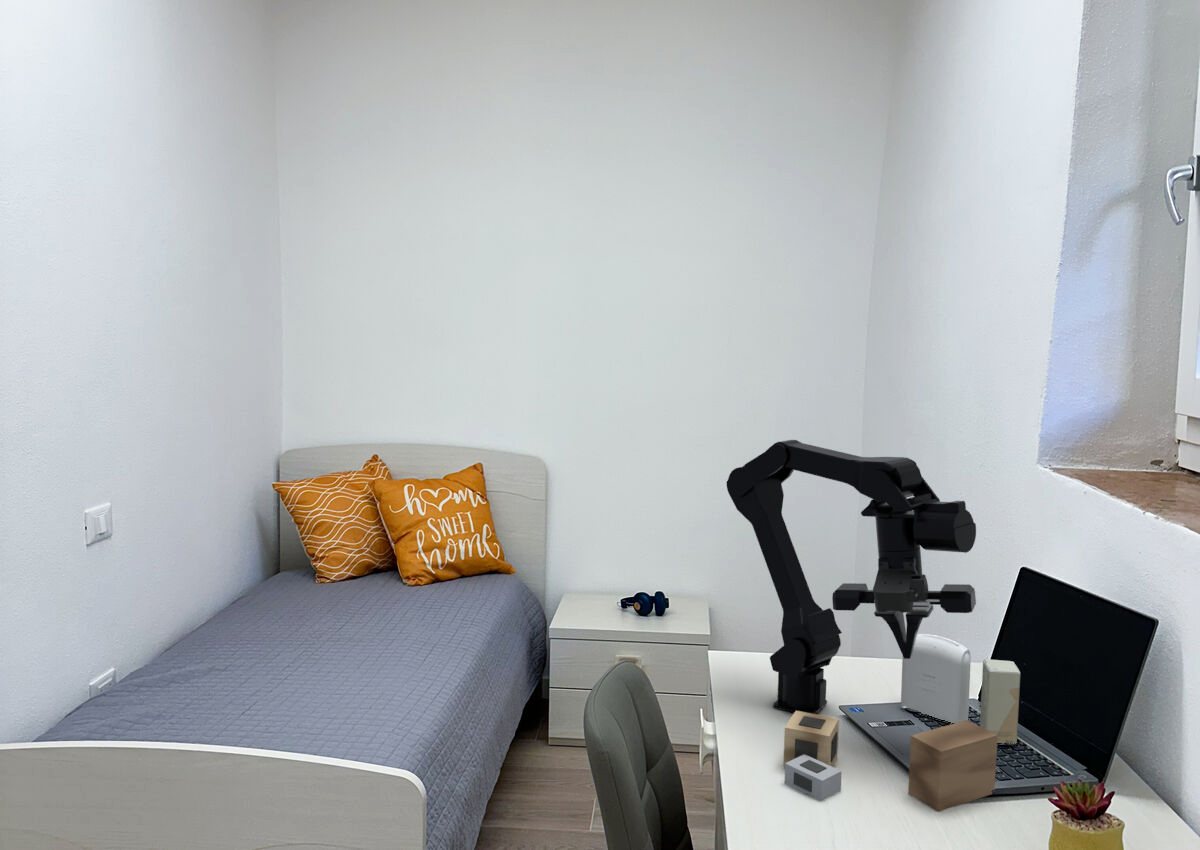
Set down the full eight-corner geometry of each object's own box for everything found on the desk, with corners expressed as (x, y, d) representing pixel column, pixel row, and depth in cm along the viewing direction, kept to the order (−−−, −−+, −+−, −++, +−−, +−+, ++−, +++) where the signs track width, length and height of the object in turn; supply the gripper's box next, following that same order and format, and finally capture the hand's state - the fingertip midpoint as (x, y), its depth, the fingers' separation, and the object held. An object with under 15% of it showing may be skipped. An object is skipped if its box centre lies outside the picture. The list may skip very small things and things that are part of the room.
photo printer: (895, 709, 152) (899, 632, 151) (908, 701, 156) (912, 625, 154) (960, 729, 145) (965, 649, 144) (972, 720, 149) (977, 641, 147)
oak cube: (783, 769, 133) (784, 726, 132) (794, 751, 139) (795, 709, 138) (828, 779, 130) (830, 735, 130) (838, 760, 136) (840, 717, 135)
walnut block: (908, 794, 127) (911, 735, 126) (963, 777, 131) (966, 720, 130) (937, 812, 122) (941, 751, 121) (994, 793, 127) (997, 735, 126)
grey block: (783, 785, 129) (784, 762, 129) (803, 775, 132) (804, 753, 131) (820, 803, 125) (821, 779, 124) (840, 792, 127) (841, 769, 127)
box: (1016, 748, 139) (1021, 673, 138) (984, 745, 140) (989, 671, 139) (1009, 732, 145) (1013, 660, 143) (978, 729, 145) (982, 657, 144)
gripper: (818, 559, 135) (827, 671, 135) (962, 558, 127) (971, 678, 127) (837, 544, 145) (846, 649, 145) (971, 543, 136) (980, 654, 137)
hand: (907, 658), depth 138 cm, fingers closed
